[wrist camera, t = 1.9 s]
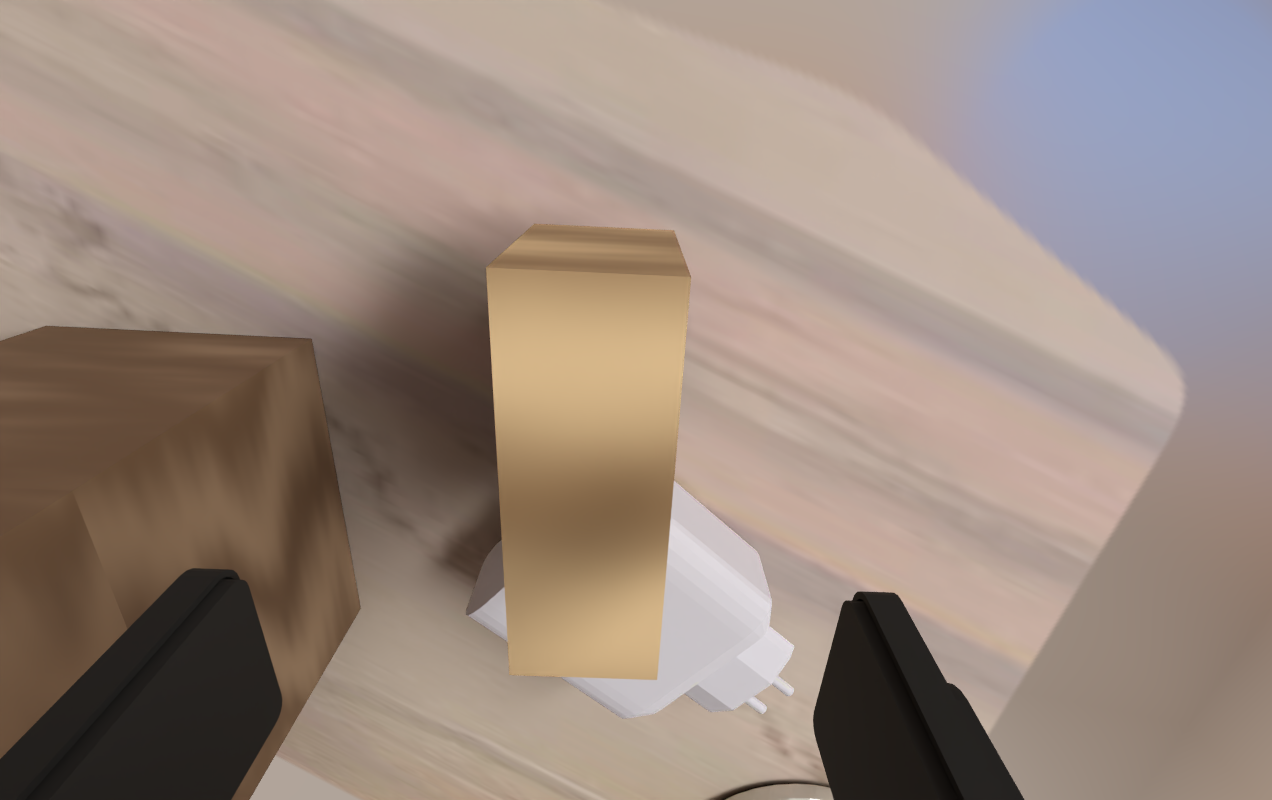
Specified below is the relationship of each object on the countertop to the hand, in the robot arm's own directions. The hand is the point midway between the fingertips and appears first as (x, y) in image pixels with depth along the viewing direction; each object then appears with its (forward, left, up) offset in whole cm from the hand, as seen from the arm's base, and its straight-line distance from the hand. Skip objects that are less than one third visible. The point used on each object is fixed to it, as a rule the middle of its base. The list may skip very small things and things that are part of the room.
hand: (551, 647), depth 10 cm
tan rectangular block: (0, 0, -16) cm, 16 cm away
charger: (-12, -3, -16) cm, 20 cm away
